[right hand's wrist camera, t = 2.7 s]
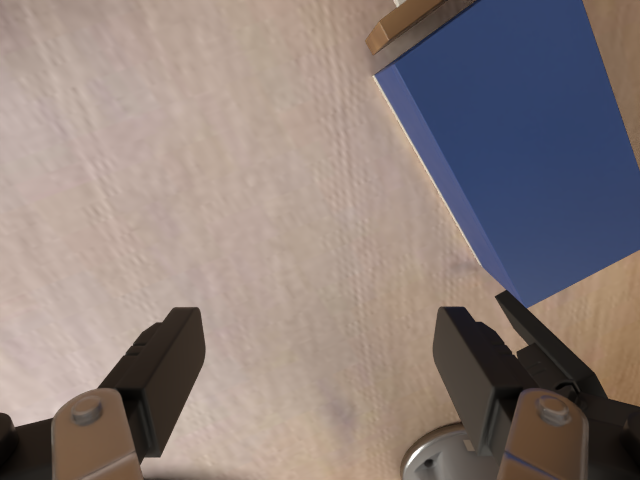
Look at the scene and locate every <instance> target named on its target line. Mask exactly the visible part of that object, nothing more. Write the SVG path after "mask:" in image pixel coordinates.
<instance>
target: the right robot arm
mask: <svg viewBox="0 0 640 480" xmlns="http://www.w3.org/2000/svg"><path fill="white" fill-rule="evenodd" d="M433 357H434V361H435V364H436V367H437V369H438V371H439V373H440V375H441V378H442V380H443V382H444V384H445V386H446V389H447V391H448V393H449V395H450V397H451V400H452V402H453V404H454V406H455V408H456V411H457V413H458V415H459V417H460V419H461V422H462V424H463V426H464V428H465V430H466V433H467V435H468V437H469V439H470V441H471V443H472V446H473V448H474V450H475V452H476V454H477V456H493V457H494V459H495V461H496V463H497V465H498V467H499V472H498V476H497V479H496V480H640V411H637V412H633V413H631V414H630V415H629V416H628V418H627V420H626V422H625V425H624V426H620V425H616V424H612V423H608V422H604V421H600V420H595V419H591V418H587V417H586V416H585V414H584V413H583V412H582V410H581V409H580V408H579V407H578V406H577V405H575V404H574V403H573V402H572V401H570V400H569V399H567V398H565V397H564V396H562V395H560V394H558V393H555V392H553V391H550V390H546V389H541V388H540V387H539V386H538V384H537V383H536V382H535V380H534V379H533V378H532V377H531V375H530V374H529V373H528V372H527V370H526V369H525V368H524V367H523V365H522V364H521V363H520V362H519V360H518V359H517V358H516V357H515V355H512V352H511V350H510V349H509V348H508V347H507V345H505V344H504V342H503V340H502V339H501V338H500V337H499V335H498V334H497V333H496V332H495V331H494V330H493V329H491V328H490V327H488V326H487V325H485V324H484V323H482V322H475V320H474V319H473V318H472V316H471V315H470V314H469V312H468V311H467V310H466V308H465V307H440V308H439V310H438V313H437V320H436V327H435V334H434V341H433ZM204 359H205V340H204V333H203V326H202V319H201V313H200V310H199V308H198V307H175V308H173V309H172V310H171V311H170V313H169V314H168V315H167V317H166V318H165V320H164V321H163V322H162V323H155V324H154V325H152V326H151V327H149V328H148V329H146V330H145V331H143V332H142V333H141V334H140V336H139V337H138V338H137V339H136V341H135V342H134V343H133V346H131V347H130V348H129V349H128V351H127V352H126V355H125V356H123V357H122V358H121V359H120V361H119V362H118V363H117V364H116V366H115V367H114V368H113V369H112V371H111V372H110V373H109V374H108V376H107V377H106V378H105V379H104V381H103V382H102V383H101V384H100V386H99V387H98V388H97V389H94V390H90V391H87V392H85V393H82V394H80V395H78V396H76V397H75V398H73V399H71V400H70V401H68V402H67V403H66V404H65V405H63V406H62V407H61V408H60V409H59V410H58V412H57V413H56V414H55V416H54V417H53V418H51V419H47V420H43V421H39V422H35V423H30V424H26V425H22V426H18V427H14V425H13V422H12V420H11V418H10V416H9V415H7V414H5V413H0V480H144V479H143V476H142V472H141V468H140V465H141V463H142V461H143V459H144V457H161V455H162V452H163V450H164V448H165V446H166V444H167V442H168V439H169V437H170V435H171V433H172V431H173V429H174V426H175V424H176V422H177V420H178V418H179V416H180V413H181V411H182V409H183V407H184V405H185V403H186V400H187V398H188V396H189V394H190V392H191V390H192V387H193V385H194V383H195V381H196V379H197V377H198V374H199V372H200V370H201V368H202V366H203V363H204Z"/></svg>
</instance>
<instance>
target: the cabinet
mask: <svg viewBox="0 0 640 480" xmlns="http://www.w3.org/2000/svg"><path fill="white" fill-rule="evenodd" d="M372 77H373V78H374V80H375V82H376V84H377V85H378V87H379V89H380V91H381V92H382V94H383V96H384V98H385V100H386V101H387V103H388V105H389V107H390V108H391V110H392V112H393V114H394V115H395V117H396V119H397V121H398V122H399V124H400V126H401V128H402V129H403V131H404V133H405V135H406V136H407V138H408V140H409V142H410V144H411V145H412V147H413V149H414V151H415V152H416V154H417V156H418V158H419V159H420V161H421V163H422V165H423V166H424V168H425V170H426V172H427V173H428V175H429V177H430V179H431V180H432V182H433V184H434V186H435V188H436V189H437V191H438V193H439V195H440V196H441V198H442V200H443V202H444V203H445V205H446V207H447V209H448V210H449V212H450V214H451V216H452V217H453V219H454V221H455V223H456V225H457V226H458V228H459V230H460V232H461V233H462V235H463V237H464V239H465V240H466V242H467V244H468V246H469V247H470V249H471V251H472V253H473V254H474V256H475V258H476V260H477V261H478V263H479V265H481V266H482V267H483V268H484V269H485V270H486V271H487V272H488V273H489V274H490V275H491V276H493V277H494V278H495V279H496V280H497V281H498V282H499V283H500V284H501V285H502V286H503V287H504V288H505V289H506V290H508V291H509V292H510V293H511V294H512V295H513V296H514V297H515V298H516V299H517V300H518V301H519V302H520V303H521V304H522V305H523V306H525V307H526V308H528V307H530V306H532V305H534V304H536V303H538V302H540V301H542V300H544V299H546V298H548V297H550V296H551V295H553V294H555V293H557V292H559V291H561V290H563V289H565V288H567V287H569V286H571V285H573V284H575V283H577V282H578V281H580V280H582V279H584V278H586V277H588V276H590V275H592V274H594V273H596V272H598V271H600V270H602V269H603V268H605V267H607V266H609V265H611V264H613V263H615V262H617V261H619V260H621V259H623V258H625V257H627V256H628V255H630V254H632V253H634V252H636V251H638V250H640V171H639V168H638V165H637V162H636V159H635V156H634V153H633V150H632V147H631V144H630V141H629V138H628V135H627V132H626V129H625V126H624V123H623V120H622V117H621V114H620V111H619V108H618V105H617V102H616V99H615V96H614V94H613V91H612V88H611V85H610V82H609V79H608V76H607V73H606V70H605V67H604V64H603V61H602V58H601V55H600V52H599V49H598V46H597V43H596V40H595V37H594V34H593V31H592V28H591V25H590V22H589V19H588V16H587V14H586V11H585V8H584V5H583V2H582V0H476V1H475V2H473V3H472V4H471V5H469V6H468V7H467V8H465V9H464V10H463V11H461V12H460V13H458V14H457V15H456V16H454V17H453V18H452V19H450V20H449V21H447V22H446V23H445V24H443V25H442V26H441V27H439V28H438V29H437V30H435V31H434V32H432V33H431V34H430V35H428V36H427V37H426V38H424V39H423V40H422V41H420V42H419V43H417V44H416V45H415V46H413V47H412V48H411V49H409V50H408V51H406V52H405V53H404V54H402V55H401V56H400V57H398V58H397V59H396V60H394V61H393V62H391V63H390V64H389V65H387V66H386V67H385V68H383V69H382V70H380V71H379V72H378V73H376V74H375V75H373V76H372Z"/></svg>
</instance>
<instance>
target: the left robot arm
mask: <svg viewBox="0 0 640 480" xmlns="http://www.w3.org/2000/svg"><path fill="white" fill-rule="evenodd" d="M495 298H496V300H497V301H498V303H499V305H500V306H501V308H502V310H503V311H504V313H505V315H506V316H507V318H508V320H509V321H510V323H511V325H512V326H513V328H514V329H515V330H516V332H517V333H518V334H519V335H520V336H521V337H522V338H523V339H524V340H525V342H526V343H527V344H528V345H529V346H527V347H525V348H523V349H521V350H519V351H517V357H518V360H519V362H520V363H521V364H522V365H523V367H524V368H525V369H526V370H527V372H528V373H529V374H530V375H531V377H532V378H533V379H534V380H535V382H536V383H537V384H538V386H539V387H540V388H541V389H546V390H550V391H553V392H555V393H558V394H560V395H562V396H564V397H565V398H567V399H569V400H570V401H572V402H573V403H574V404H575V405H577V406H578V407H579V408H580V409H581V410H582V412H583V413H584V414H585V416H586V417H587V418H591V419H595V420H600V421H604V422H608V423H612V424H616V425H620V426H624V425H625V422H626V420H627V418H628V416H629V415H630V414H631V413H633V412H637V411H640V407H638V406H634V405H631V404H627V403H623V402H619V401H615V400H611V399H608V397H607V395H606V393H605V391H604V390H603V388H602V386H601V384H600V382H599V380H598V378H597V376H596V374H595V373H594V372H593V371H592V370H591V369H590V368H589V367H588V366H587V365H586V364H585V363H584V362H582V361H581V360H580V359H579V358H578V357H577V356H576V355H575V354H574V353H573V352H572V351H571V350H570V349H569V348H568V347H567V346H566V345H565V344H564V343H562V342H561V341H560V340H559V339H558V338H557V337H556V336H555V335H554V334H553V333H552V332H551V331H550V330H549V329H548V328H547V327H546V326H545V325H544V324H542V323H541V322H540V321H539V320H538V319H537V318H536V317H535V316H534V315H533V314H532V313H531V312H530V311H529V310H528V309H527V308H526V307H525V306H523V305H522V304H521V303H520V302H519V301H518V300H517V299H516V298H515V297H514V296H513V295H512V294H511V293H510V292H509V291H508V290H506V291H504V292H502V293H500V294H498V295H497V296H495ZM498 472H499V467H498V465H497V463H496V461H495V459H494V457H493V456H477V454H476V452H475V450H474V448H473V446H472V443H471V441H470V439H469V437H468V435H467V433H466V430H465V428H464V426H463V424H462V423H461V424H454V425H449V426H445V427H442V428H439V429H437V430H434V431H432V432H430V433H428V434H426V435H425V436H423V437H422V438H420V439H419V440H418V441H416V442H415V443H414V444H413V445H412V446H411V447H410V448H409V450H408V451H407V452H406V454H405V455H404V458H403V460H402V463H401V467H400V474H401V479H402V480H496V479H497V476H498Z"/></svg>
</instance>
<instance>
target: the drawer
mask: <svg viewBox="0 0 640 480" xmlns="http://www.w3.org/2000/svg"><path fill="white" fill-rule="evenodd" d="M393 1H394V3H395V5H396V7H397V8H396V9H394V10H393V11H392V12H391V13H389V14H388V15H387V16H385V17H384V18H383V19H381V20H380V21H379V22H378V24H377V25H376V26H375V28H374V29H373V31H372V32H371V33H370V35H369V36H368V38H367V39H366V40H365V42H366V44H367V45H368V47H369V49H370V51H371V53H372V54H373V55H375V54H376V53H377V52H379V51H380V50H381V49H383V48H384V47H385V46H387V45H388V44H390V43H391V42H392V41H394V40H395V39H396V38H398V37H399V36H400V35H402V34H403V33H404V32H406V31H407V30H408V29H410V28H411V27H412V26H414V25H415V24H416V23H418V22H419V21H420V20H422V19H423V18H424V17H426V16H427V15H428V14H430V13H431V12H432V11H434V10H435V9H436V8H438V7H439V6H441V5H442V4H443V3H445V2H446V1H447V0H393Z"/></svg>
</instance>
